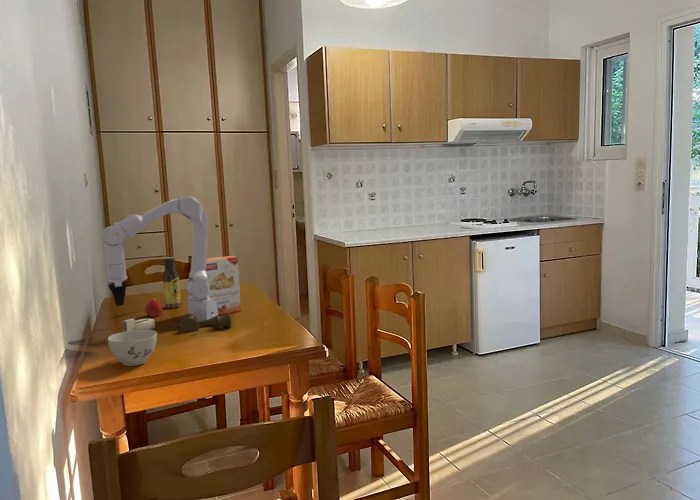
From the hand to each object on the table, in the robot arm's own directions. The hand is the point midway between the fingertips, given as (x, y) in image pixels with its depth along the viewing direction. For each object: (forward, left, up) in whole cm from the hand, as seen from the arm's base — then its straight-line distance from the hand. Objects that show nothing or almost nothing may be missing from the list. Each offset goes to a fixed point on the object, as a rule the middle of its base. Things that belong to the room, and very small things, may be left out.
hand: (119, 305), depth 178 cm
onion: (+6, -20, -10) cm, 23 cm away
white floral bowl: (-25, +19, -10) cm, 33 cm away
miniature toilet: (-4, -3, -9) cm, 10 cm away
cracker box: (-13, -34, -10) cm, 38 cm away
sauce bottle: (+14, -38, -10) cm, 42 cm away
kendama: (-22, -12, -11) cm, 27 cm away
